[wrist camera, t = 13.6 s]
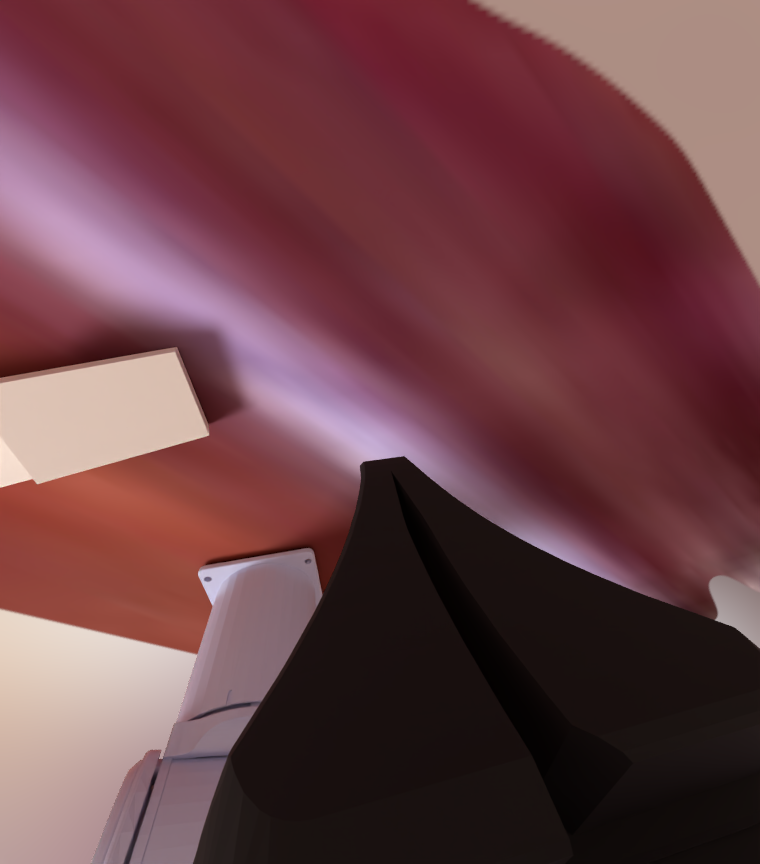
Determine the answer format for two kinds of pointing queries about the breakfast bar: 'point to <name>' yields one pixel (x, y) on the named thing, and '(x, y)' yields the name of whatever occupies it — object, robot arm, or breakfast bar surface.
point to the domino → (98, 412)
